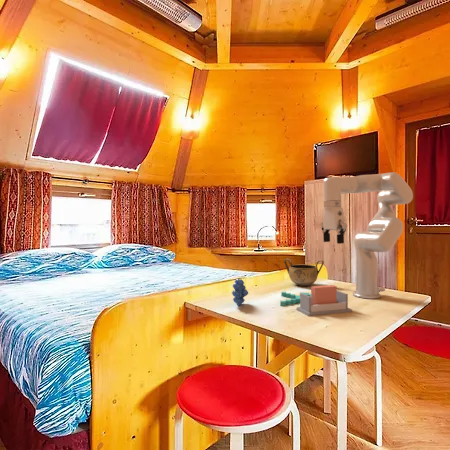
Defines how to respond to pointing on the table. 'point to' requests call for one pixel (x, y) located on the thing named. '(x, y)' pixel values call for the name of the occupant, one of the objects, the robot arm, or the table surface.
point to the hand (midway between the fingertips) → (333, 242)
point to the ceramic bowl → (303, 273)
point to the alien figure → (293, 297)
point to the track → (324, 305)
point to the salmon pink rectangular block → (323, 294)
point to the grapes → (239, 292)
